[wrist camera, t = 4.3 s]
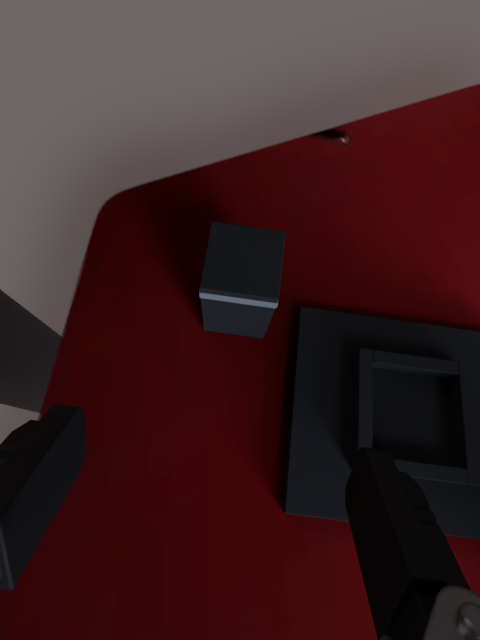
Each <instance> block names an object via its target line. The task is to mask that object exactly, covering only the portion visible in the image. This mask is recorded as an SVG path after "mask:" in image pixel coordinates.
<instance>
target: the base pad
mask: <svg viewBox="0 0 480 640" xmlns="http://www.w3.org/2000/svg"><path fill="white" fill-rule="evenodd" d="M361 447H366V448H373V449H380V450H387V451H389V452H390V453H391V455H392V457H393V459H394V462H395V464H396V466H397V469H398V471H401V472H407V473H408V474H409V475H410V476H411V477H412V478H413V479H414V481H415V482H416V483H417V484H418V485H419V486H420V487H421V488H422V490H423V492H424V494H425V496H426V499H427V501H428V503H429V505H430V510H432V511H433V513H434V515H435V517H436V519H437V521H438V523H437V524H438V526H440V528H441V530H442V532H443V534H444V535H449V536H457V537H464V538H472V539H479V540H480V332H479V331H472V330H465V329H458V328H451V327H444V326H437V325H430V324H423V323H416V322H409V321H402V320H395V319H388V318H381V317H374V316H367V315H360V314H353V313H346V312H339V311H331V310H324V309H317V308H310V307H303V306H300V308H299V310H298V317H297V330H296V343H295V356H294V368H293V381H292V394H291V407H290V419H289V432H288V445H287V457H286V470H285V483H284V496H283V508H282V511H283V512H284V513H287V514H294V515H301V516H309V517H316V518H324V519H331V520H338V521H346V522H349V518H348V514H347V510H346V504H345V490H346V485H347V481H348V479H349V476H350V473H351V470H352V467H353V464H354V461H355V458H356V456H357V453H358V450H359V449H360V448H361Z"/></svg>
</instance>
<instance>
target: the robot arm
mask: <svg viewBox="0 0 480 640" xmlns="http://www.w3.org/2000/svg"><path fill="white" fill-rule="evenodd" d="M85 455H86V434H85V416H84V410H83V408H81V407H73V406H66V405H59V404H55V405H53V406H52V407H51V408H50V409H49V410H48V411H47V412H46V414H45V415H44V416H43V417H42V418H41V420H40V421H35V420H30V421H28V422H27V423H25V424H23V425H22V426H20V427H19V428H17V429H15V430H14V431H12V432H11V433H10V434H9V436H8V437H7V438H6V439H5V440H4V441H3V442H2V443H1V444H0V589H5V590H13V589H14V587H15V585H16V583H17V581H18V580H19V578H20V576H21V574H22V573H23V571H24V569H25V567H26V566H27V564H28V562H29V560H30V559H31V557H32V555H33V553H34V551H35V550H36V548H37V546H38V544H39V543H40V541H41V539H42V537H43V536H44V534H45V532H46V530H47V529H48V527H49V525H50V523H51V522H52V520H53V518H54V516H55V514H56V513H57V511H58V509H59V507H60V506H61V504H62V502H63V500H64V499H65V497H66V495H67V493H68V492H69V490H70V488H71V486H72V484H73V483H74V481H75V479H76V477H77V476H78V474H79V472H80V470H81V468H82V466H83V463H84V459H85ZM345 504H346V510H347V514H348V518H349V522H350V526H351V530H352V534H353V539H354V543H355V547H356V551H357V555H358V559H359V563H360V567H361V572H362V576H363V580H364V584H365V588H366V592H367V596H368V600H369V605H370V609H371V613H372V617H373V621H374V625H375V629H376V633H377V638H378V640H480V595H478V594H477V593H475V592H473V591H471V589H470V587H469V585H468V584H467V581H466V579H465V577H464V575H463V573H462V571H461V569H460V567H459V565H458V563H457V561H456V559H455V557H454V554H453V552H452V550H451V548H450V546H449V544H448V542H447V540H446V538H445V536H444V534H443V532H442V530H441V528H440V526H438V524H437V523H438V521H437V519H436V517H435V515H434V513H433V511H432V510H430V505H429V503H428V501H427V499H426V496H425V494H424V492H423V490H422V488H421V487H420V486H419V485H418V484H417V483H416V482H415V481H414V479H413V478H412V477H411V476H410V475H409V474H408V473H407V472H401V471H398V469H397V466H396V464H395V462H394V459H393V457H392V455H391V453H390V452H389V451H387V450H380V449H373V448H366V447H361V448H360V449H359V450H358V453H357V456H356V458H355V461H354V464H353V467H352V470H351V473H350V476H349V479H348V481H347V485H346V490H345Z"/></svg>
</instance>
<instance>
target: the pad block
mask: <svg viewBox="0 0 480 640" xmlns="http://www.w3.org/2000/svg"><path fill="white" fill-rule="evenodd" d="M284 243H285V232H282V231H275V230H268V229H261V228H255V227H248V226H241V225H234V224H227V223H220V222H213V221H212V222H211V228H210V233H209V239H208V244H207V250H206V255H205V260H204V266H203V271H202V277H201V282H200V290H199V297H200V298H201V307H202V317H203V327H204V331H211V332H218V333H225V334H232V335H239V336H247V337H254V338H261V339H263V338H264V335H265V333H266V330H267V328H268V325H269V323H270V320H271V318H272V315H273V313H274V310H275V309H276V308H277V305H278V300H279V293H280V283H281V273H282V263H283V253H284Z"/></svg>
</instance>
